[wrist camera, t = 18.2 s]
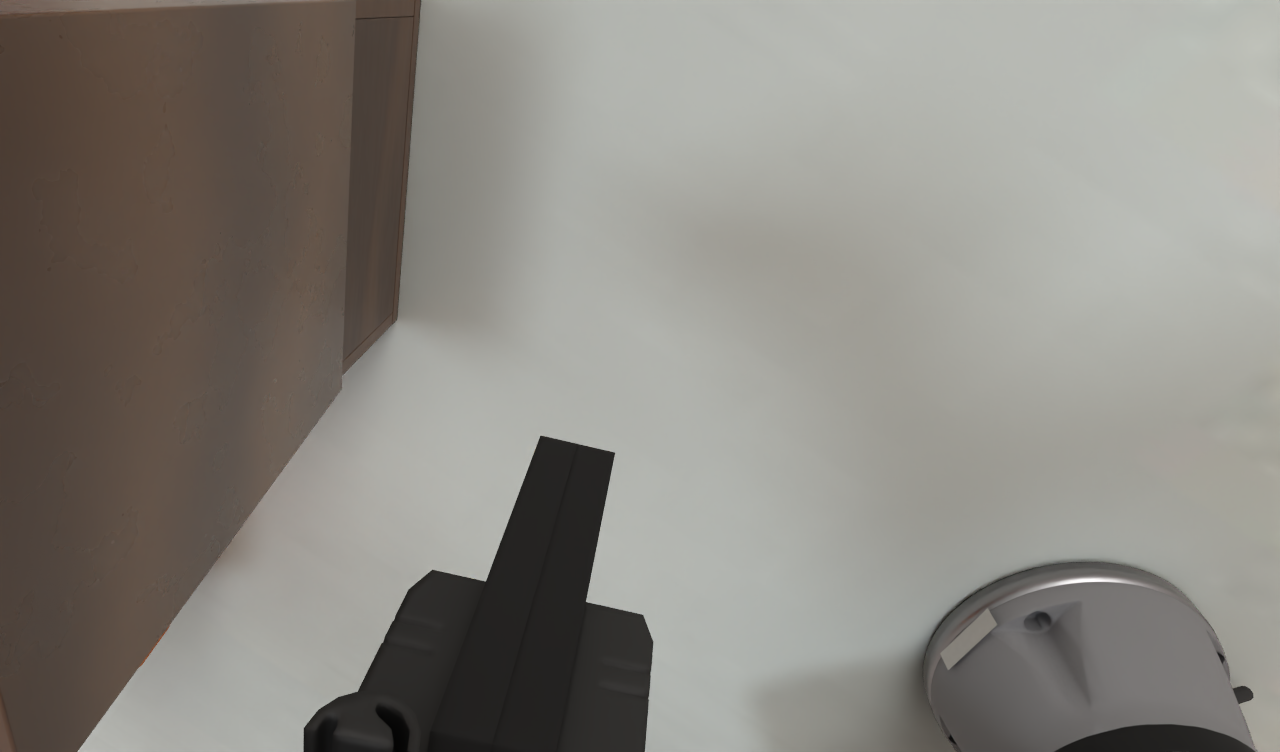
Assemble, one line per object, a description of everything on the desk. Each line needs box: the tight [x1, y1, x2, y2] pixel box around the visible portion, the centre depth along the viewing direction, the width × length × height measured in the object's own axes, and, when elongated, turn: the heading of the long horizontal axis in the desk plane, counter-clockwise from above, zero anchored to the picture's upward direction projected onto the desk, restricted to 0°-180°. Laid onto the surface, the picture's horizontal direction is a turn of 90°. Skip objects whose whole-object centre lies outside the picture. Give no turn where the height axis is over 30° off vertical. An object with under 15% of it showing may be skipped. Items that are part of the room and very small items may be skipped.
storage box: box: [342, 0, 421, 375], centre depth 30 cm, size 16×14×7 cm
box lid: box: [0, 0, 356, 752], centre depth 19 cm, size 17×14×1 cm
